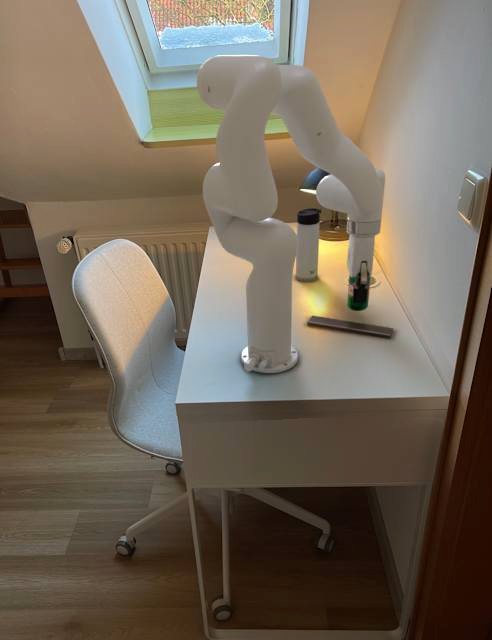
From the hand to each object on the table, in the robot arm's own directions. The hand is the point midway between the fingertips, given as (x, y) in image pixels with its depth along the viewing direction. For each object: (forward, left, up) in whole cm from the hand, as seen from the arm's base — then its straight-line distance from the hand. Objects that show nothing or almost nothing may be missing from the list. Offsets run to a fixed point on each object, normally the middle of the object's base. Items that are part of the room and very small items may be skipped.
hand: (357, 296), depth 134 cm
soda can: (0, 0, -3) cm, 3 cm away
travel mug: (+19, +19, -6) cm, 28 cm away
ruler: (-7, 0, -5) cm, 9 cm away
